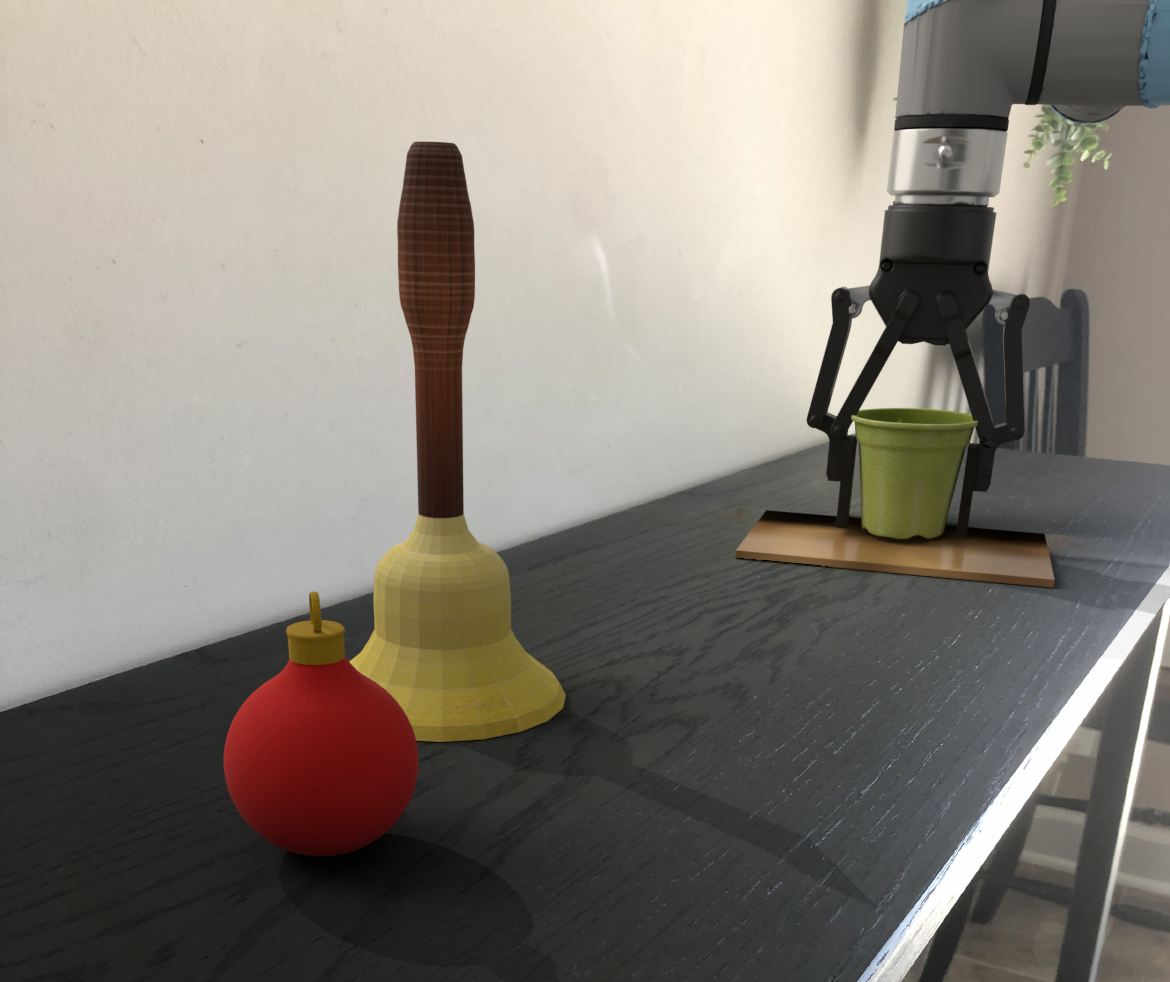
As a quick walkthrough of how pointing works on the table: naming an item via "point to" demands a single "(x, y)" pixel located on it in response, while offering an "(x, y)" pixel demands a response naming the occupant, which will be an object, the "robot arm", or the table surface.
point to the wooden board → (901, 550)
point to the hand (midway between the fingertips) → (901, 528)
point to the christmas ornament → (320, 749)
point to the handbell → (446, 502)
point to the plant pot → (909, 468)
